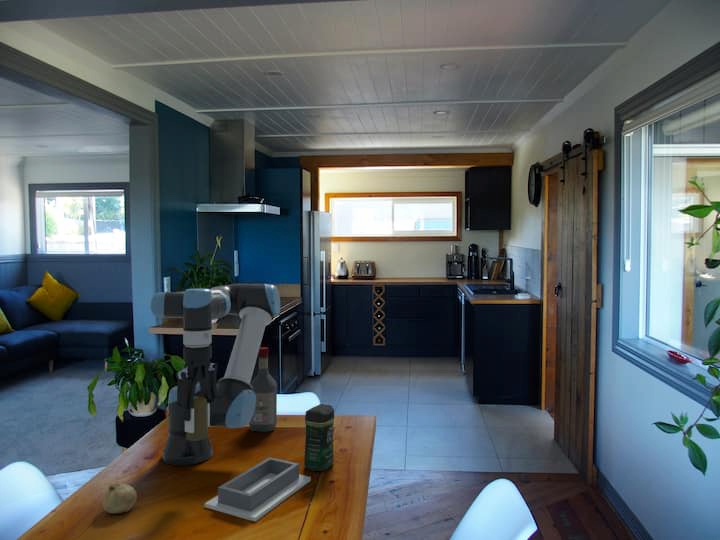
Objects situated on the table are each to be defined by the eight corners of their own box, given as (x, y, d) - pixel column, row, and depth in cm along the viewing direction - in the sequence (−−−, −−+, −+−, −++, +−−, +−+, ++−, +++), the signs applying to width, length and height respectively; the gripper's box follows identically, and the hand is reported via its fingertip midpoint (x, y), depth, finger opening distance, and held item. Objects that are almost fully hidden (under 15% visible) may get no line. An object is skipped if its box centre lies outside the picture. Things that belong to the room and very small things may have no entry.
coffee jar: (323, 474, 157) (324, 412, 156) (300, 469, 160) (300, 409, 159) (337, 462, 165) (338, 403, 165) (315, 458, 169) (315, 400, 168)
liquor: (273, 432, 192) (273, 350, 191) (248, 432, 192) (248, 350, 191) (277, 424, 201) (277, 345, 200) (253, 423, 201) (253, 345, 200)
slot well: (255, 521, 129) (255, 501, 129) (204, 507, 136) (204, 487, 136) (310, 480, 152) (310, 463, 152) (265, 469, 159) (265, 453, 159)
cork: (213, 435, 147) (213, 396, 147) (197, 442, 142) (197, 401, 141) (196, 431, 150) (197, 393, 149) (181, 438, 144) (181, 398, 144)
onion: (123, 500, 139) (123, 473, 139) (143, 507, 135) (143, 480, 135) (95, 512, 132) (95, 485, 132) (115, 521, 128) (115, 492, 128)
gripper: (182, 351, 135) (182, 441, 136) (230, 341, 151) (230, 421, 152) (161, 348, 139) (161, 436, 139) (210, 339, 155) (210, 417, 155)
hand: (197, 428), depth 146 cm, fingers closed on cork, 5 cm apart
